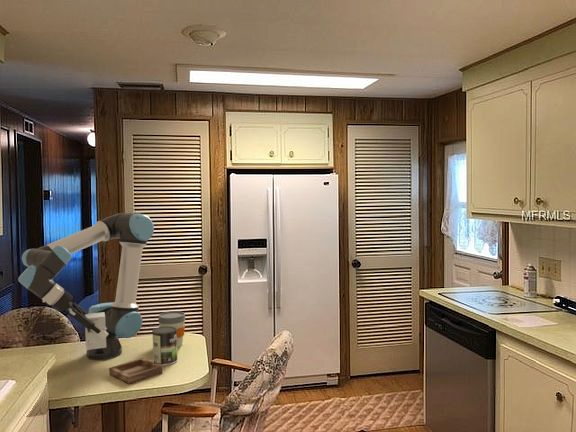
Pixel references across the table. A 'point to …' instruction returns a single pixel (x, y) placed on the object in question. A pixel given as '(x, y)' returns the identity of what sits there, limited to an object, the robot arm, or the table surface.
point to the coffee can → (165, 345)
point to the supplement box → (91, 338)
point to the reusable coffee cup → (174, 323)
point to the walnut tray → (135, 371)
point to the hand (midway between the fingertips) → (105, 333)
